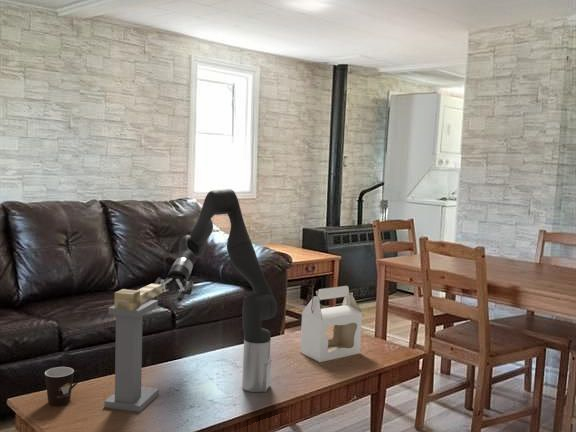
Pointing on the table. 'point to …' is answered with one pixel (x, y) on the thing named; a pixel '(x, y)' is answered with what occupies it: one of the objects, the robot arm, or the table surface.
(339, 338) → the gable box
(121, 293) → the beech bar
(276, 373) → the table surface
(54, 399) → the coffee mug
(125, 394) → the grey stand
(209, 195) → the robot arm
